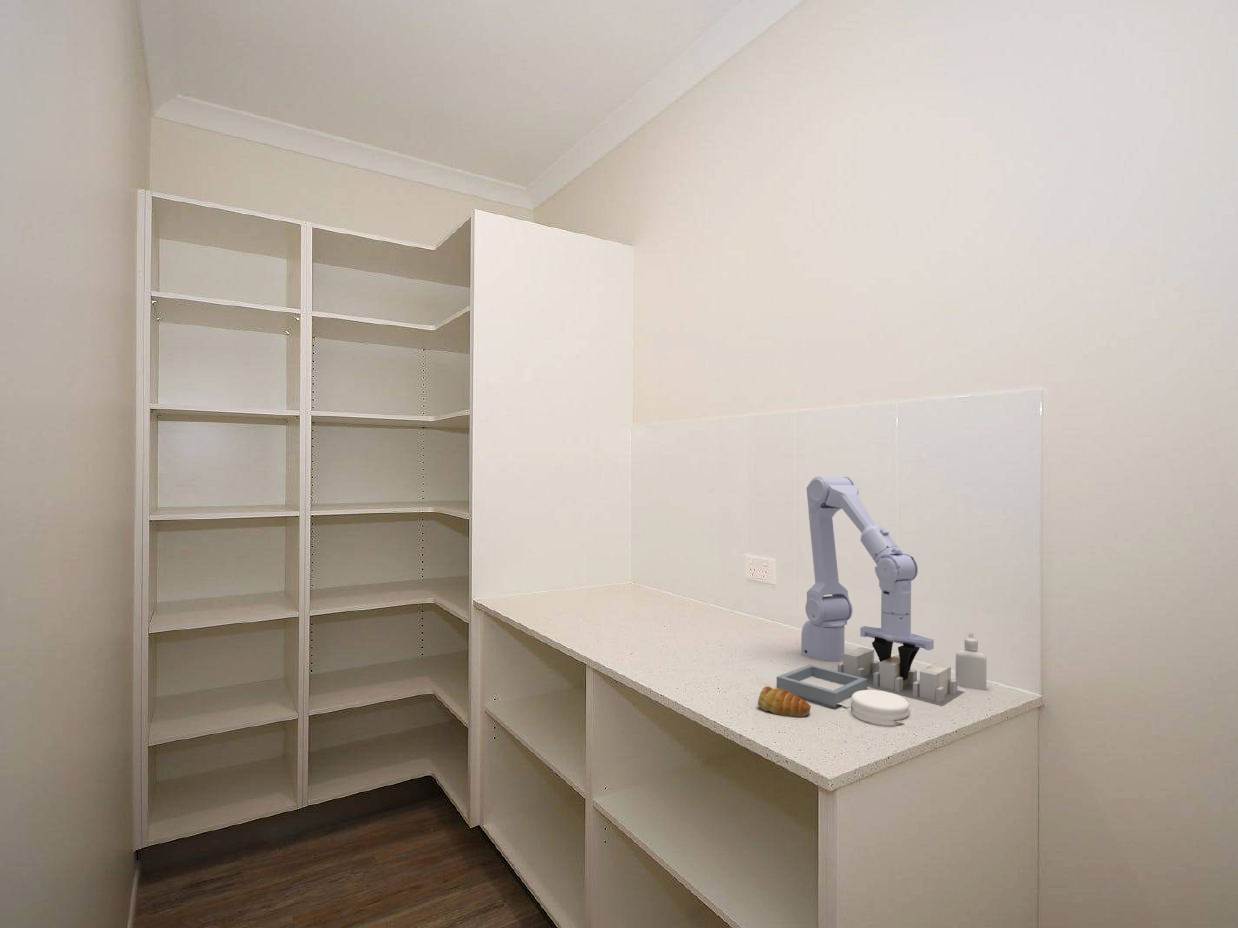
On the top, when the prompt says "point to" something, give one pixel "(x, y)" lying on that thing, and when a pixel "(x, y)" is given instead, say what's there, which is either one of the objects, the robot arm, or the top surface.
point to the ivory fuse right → (934, 680)
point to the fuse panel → (907, 685)
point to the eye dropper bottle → (971, 665)
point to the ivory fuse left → (858, 661)
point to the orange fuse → (890, 672)
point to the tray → (819, 694)
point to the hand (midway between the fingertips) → (895, 677)
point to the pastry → (782, 702)
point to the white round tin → (879, 707)
